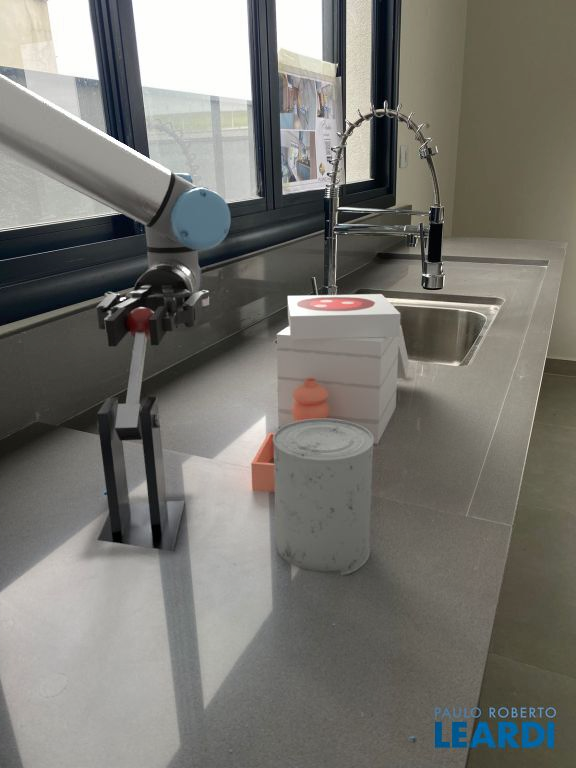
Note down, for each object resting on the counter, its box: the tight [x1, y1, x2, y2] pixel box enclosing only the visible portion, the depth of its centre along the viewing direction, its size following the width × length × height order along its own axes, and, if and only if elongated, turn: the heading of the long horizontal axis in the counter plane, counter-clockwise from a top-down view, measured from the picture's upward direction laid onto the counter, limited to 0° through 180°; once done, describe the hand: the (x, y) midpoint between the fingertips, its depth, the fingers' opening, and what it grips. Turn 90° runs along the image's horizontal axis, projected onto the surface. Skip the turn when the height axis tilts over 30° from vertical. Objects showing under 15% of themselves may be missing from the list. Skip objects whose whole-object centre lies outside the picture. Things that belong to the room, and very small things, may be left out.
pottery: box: [250, 378, 330, 493], centre depth 77 cm, size 18×10×10 cm, turn 169°
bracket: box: [96, 396, 186, 552], centre depth 61 cm, size 10×8×15 cm
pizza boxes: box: [276, 293, 410, 445], centre depth 96 cm, size 19×30×18 cm, turn 161°
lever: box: [115, 307, 154, 441], centre depth 64 cm, size 16×4×4 cm
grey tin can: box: [273, 418, 375, 577], centre depth 59 cm, size 10×10×12 cm
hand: (132, 332), depth 62 cm, fingers closed on lever, 4 cm apart
